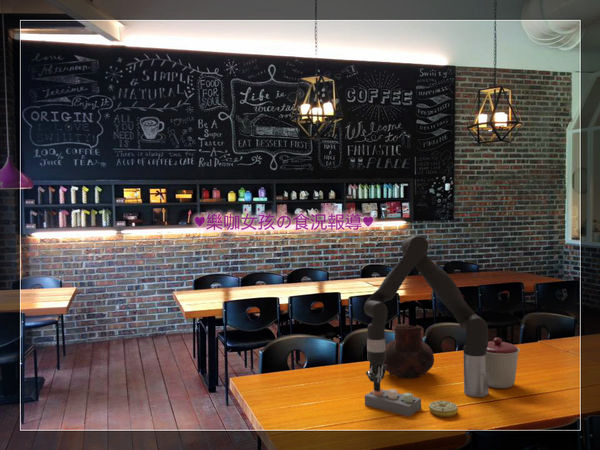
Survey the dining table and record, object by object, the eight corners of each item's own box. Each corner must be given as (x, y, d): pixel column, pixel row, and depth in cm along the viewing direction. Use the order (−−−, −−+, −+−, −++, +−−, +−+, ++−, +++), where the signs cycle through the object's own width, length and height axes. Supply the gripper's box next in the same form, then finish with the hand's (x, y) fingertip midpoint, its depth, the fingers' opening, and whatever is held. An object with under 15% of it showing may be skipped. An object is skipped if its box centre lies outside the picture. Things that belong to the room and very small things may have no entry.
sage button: (415, 404, 207) (415, 394, 207) (410, 407, 204) (410, 397, 204) (406, 402, 210) (406, 392, 210) (401, 405, 207) (401, 395, 207)
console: (421, 408, 209) (421, 398, 209) (409, 416, 201) (408, 406, 201) (377, 397, 222) (377, 388, 222) (364, 405, 214) (364, 395, 214)
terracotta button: (384, 400, 216) (384, 390, 216) (379, 403, 213) (379, 393, 213) (376, 398, 219) (375, 388, 219) (370, 401, 216) (370, 391, 216)
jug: (430, 367, 261) (429, 317, 260) (438, 384, 236) (437, 329, 235) (379, 366, 263) (378, 317, 263) (382, 384, 238) (380, 329, 238)
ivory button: (399, 400, 212) (399, 390, 212) (394, 403, 209) (394, 393, 209) (390, 398, 214) (390, 388, 214) (385, 401, 211) (385, 391, 211)
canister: (524, 393, 222) (523, 343, 222) (479, 391, 226) (478, 342, 225) (515, 378, 240) (515, 333, 239) (474, 377, 244) (473, 332, 243)
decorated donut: (443, 406, 211) (443, 396, 211) (463, 415, 202) (463, 405, 202) (423, 411, 207) (423, 401, 206) (442, 420, 197) (442, 410, 197)
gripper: (375, 354, 208) (376, 397, 209) (392, 346, 218) (393, 388, 219) (359, 351, 213) (360, 393, 213) (377, 344, 223) (377, 384, 223)
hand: (377, 390), depth 216 cm, fingers closed
